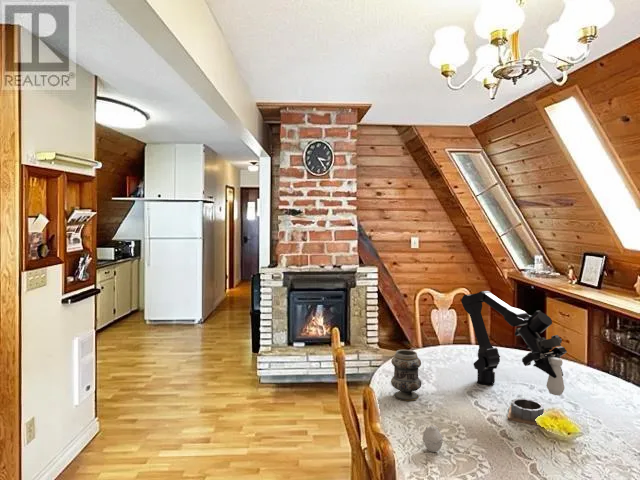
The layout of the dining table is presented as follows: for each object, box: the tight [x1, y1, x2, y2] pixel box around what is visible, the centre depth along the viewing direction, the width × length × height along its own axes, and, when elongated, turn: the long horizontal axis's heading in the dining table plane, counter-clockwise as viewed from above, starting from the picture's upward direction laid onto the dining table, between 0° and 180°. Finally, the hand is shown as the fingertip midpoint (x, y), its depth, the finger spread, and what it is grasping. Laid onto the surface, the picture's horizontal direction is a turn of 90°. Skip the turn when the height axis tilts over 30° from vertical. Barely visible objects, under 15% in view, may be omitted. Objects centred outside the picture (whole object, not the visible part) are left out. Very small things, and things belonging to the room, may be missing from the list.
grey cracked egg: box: [422, 425, 444, 453], centre depth 131 cm, size 6×7×7 cm
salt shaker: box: [546, 357, 565, 396], centre depth 158 cm, size 6×6×13 cm
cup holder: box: [507, 398, 547, 427], centre depth 153 cm, size 12×12×4 cm
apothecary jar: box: [390, 349, 422, 402], centre depth 173 cm, size 12×12×18 cm
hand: (559, 376), depth 156 cm, fingers closed on salt shaker, 3 cm apart
